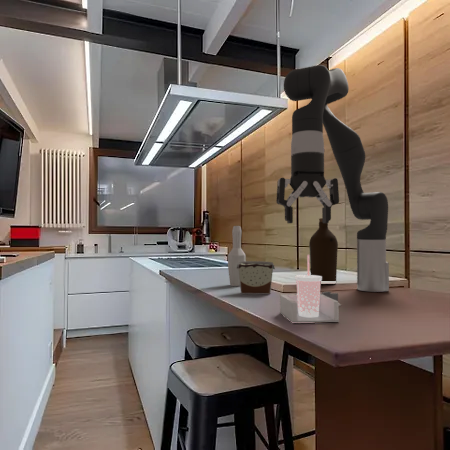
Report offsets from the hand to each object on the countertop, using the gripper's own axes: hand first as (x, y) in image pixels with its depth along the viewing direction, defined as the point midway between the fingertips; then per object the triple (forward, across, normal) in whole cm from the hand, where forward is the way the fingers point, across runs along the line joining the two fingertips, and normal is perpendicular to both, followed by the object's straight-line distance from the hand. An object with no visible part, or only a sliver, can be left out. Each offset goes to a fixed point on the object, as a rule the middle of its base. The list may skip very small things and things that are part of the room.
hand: (307, 223), depth 86 cm
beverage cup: (+22, 0, 0) cm, 22 cm away
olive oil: (+22, -25, -55) cm, 64 cm away
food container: (+22, +5, -37) cm, 43 cm away
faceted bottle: (+22, +9, -53) cm, 58 cm away
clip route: (+22, -7, -11) cm, 25 cm away
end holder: (+22, 0, 0) cm, 22 cm away
